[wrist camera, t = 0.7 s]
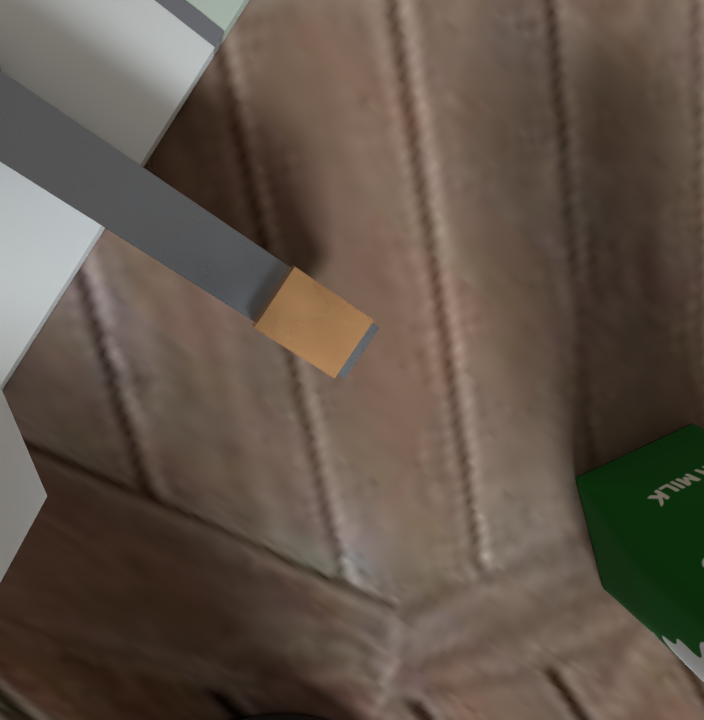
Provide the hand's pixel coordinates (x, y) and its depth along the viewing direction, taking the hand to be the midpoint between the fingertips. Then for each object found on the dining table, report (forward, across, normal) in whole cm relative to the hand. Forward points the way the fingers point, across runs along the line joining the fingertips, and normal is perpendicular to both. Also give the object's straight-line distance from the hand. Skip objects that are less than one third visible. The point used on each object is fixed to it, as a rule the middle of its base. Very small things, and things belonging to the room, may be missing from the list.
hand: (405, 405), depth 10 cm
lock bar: (+13, +8, 0) cm, 15 cm away
